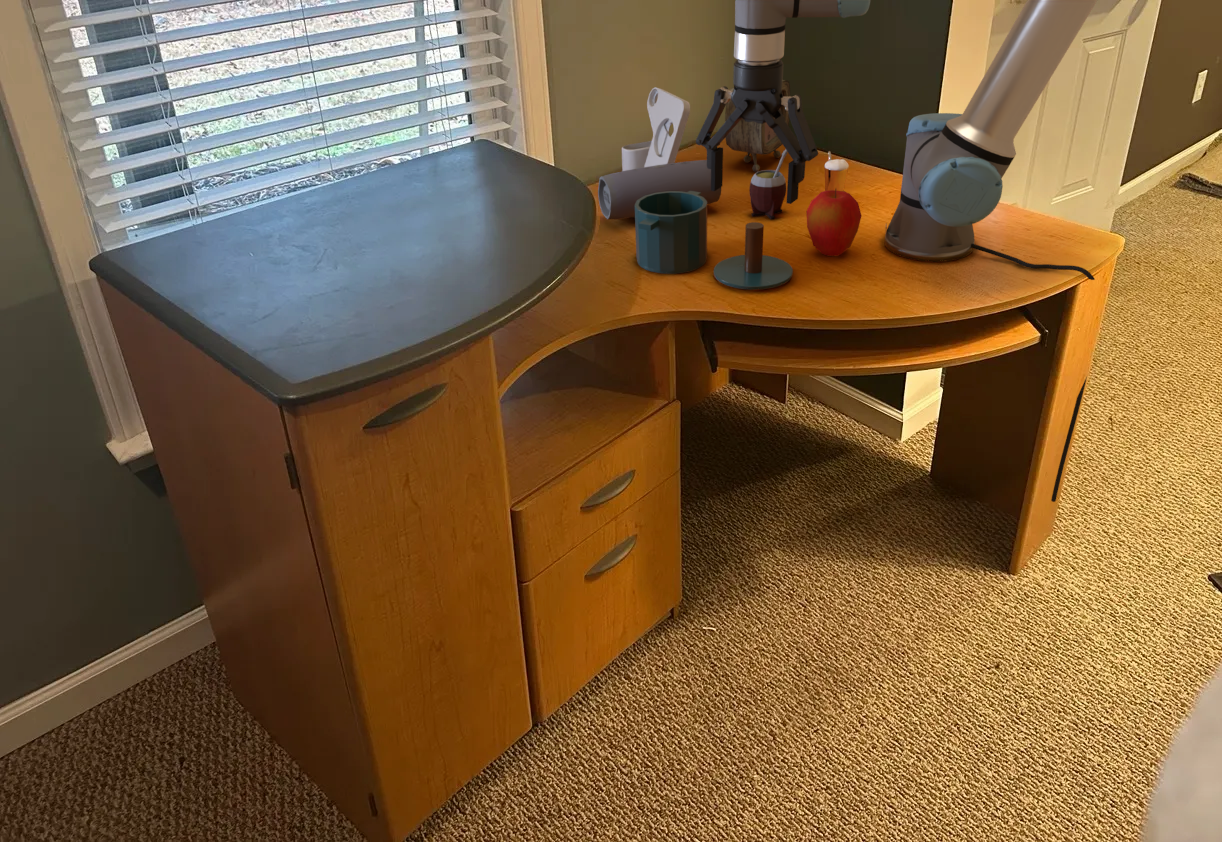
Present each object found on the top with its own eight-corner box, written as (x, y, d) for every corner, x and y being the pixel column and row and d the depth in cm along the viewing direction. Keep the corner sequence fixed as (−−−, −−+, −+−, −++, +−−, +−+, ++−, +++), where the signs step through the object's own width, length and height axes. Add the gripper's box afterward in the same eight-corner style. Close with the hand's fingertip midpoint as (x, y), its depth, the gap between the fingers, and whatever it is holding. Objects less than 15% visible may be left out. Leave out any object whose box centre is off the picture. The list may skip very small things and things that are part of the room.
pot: (725, 248, 179) (726, 192, 174) (677, 284, 167) (676, 226, 161) (666, 236, 185) (665, 182, 180) (615, 271, 173) (613, 214, 167)
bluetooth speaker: (704, 199, 201) (704, 151, 196) (722, 214, 194) (723, 164, 188) (598, 216, 196) (595, 167, 191) (612, 232, 188) (610, 181, 183)
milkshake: (835, 198, 198) (839, 149, 193) (849, 207, 194) (853, 157, 188) (815, 202, 197) (818, 152, 192) (828, 210, 193) (832, 160, 187)
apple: (793, 252, 176) (797, 187, 170) (829, 239, 180) (834, 175, 174) (832, 268, 170) (837, 201, 163) (868, 254, 174) (874, 188, 168)
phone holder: (618, 174, 217) (614, 90, 208) (659, 166, 220) (658, 84, 211) (651, 197, 204) (649, 109, 194) (694, 189, 207) (695, 102, 197)
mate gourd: (743, 210, 195) (745, 134, 187) (780, 205, 197) (784, 130, 189) (757, 223, 189) (760, 145, 181) (795, 217, 190) (800, 140, 182)
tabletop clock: (759, 176, 212) (763, 55, 199) (722, 170, 216) (723, 51, 203) (787, 156, 222) (793, 40, 209) (751, 151, 226) (754, 37, 213)
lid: (805, 269, 170) (808, 218, 165) (772, 299, 161) (774, 246, 156) (735, 255, 176) (736, 206, 171) (699, 283, 167) (699, 232, 162)
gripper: (846, 61, 146) (834, 199, 158) (698, 47, 158) (697, 176, 169) (826, 72, 141) (816, 214, 152) (675, 57, 153) (675, 190, 164)
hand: (753, 194), depth 161 cm, fingers open, 13 cm apart
